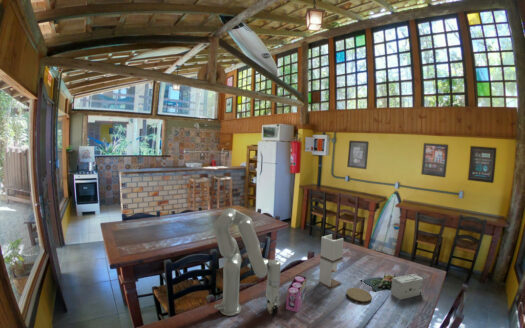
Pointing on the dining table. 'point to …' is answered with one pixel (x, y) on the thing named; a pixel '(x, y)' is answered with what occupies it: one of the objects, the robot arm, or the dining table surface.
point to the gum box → (296, 293)
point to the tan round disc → (359, 295)
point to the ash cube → (270, 307)
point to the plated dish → (380, 283)
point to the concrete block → (406, 286)
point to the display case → (330, 260)
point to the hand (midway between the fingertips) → (272, 309)
